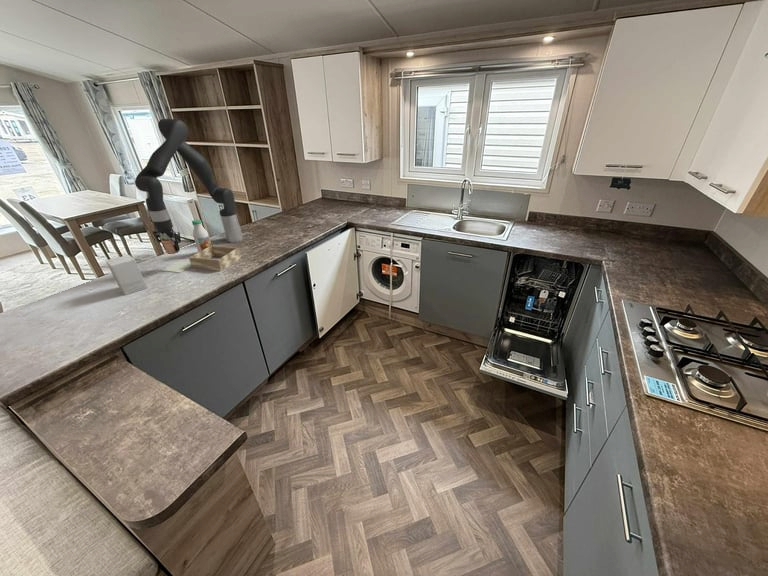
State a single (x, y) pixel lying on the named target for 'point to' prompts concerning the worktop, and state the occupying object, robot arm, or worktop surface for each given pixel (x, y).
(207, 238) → the milk bottle
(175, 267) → the sage mat
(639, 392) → the worktop surface
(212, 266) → the wooden shadow box
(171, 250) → the terracotta pot
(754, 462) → the worktop surface
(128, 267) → the supplement box
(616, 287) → the worktop surface
